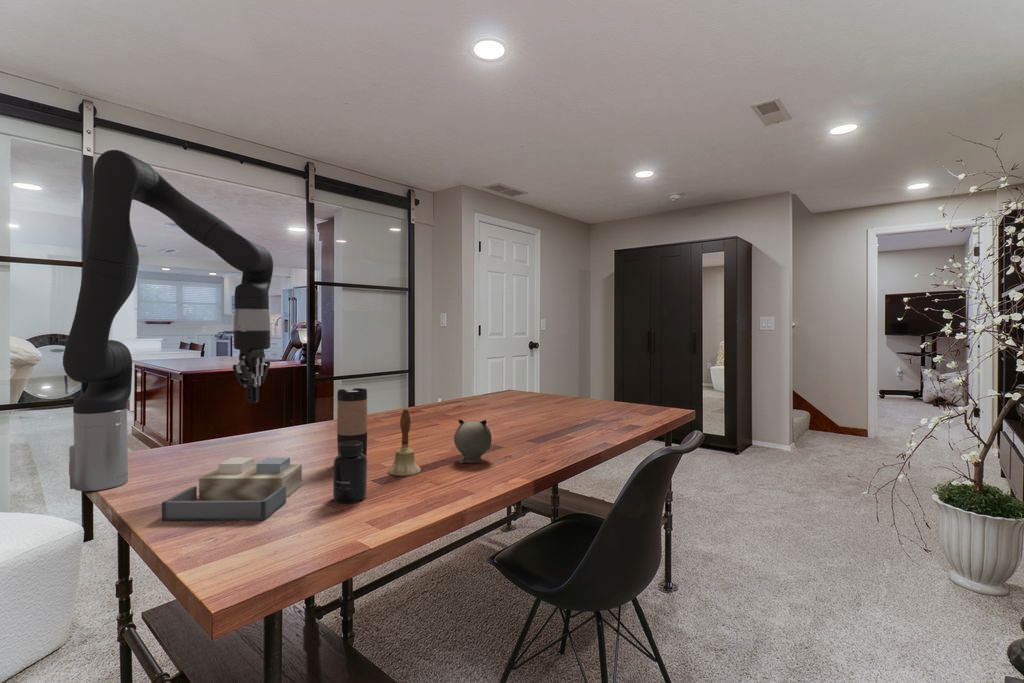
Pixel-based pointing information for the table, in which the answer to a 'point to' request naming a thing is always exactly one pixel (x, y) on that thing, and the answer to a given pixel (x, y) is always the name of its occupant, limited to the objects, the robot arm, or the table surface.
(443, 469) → the table surface
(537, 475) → the table surface
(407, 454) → the hand bell
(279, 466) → the slate tile
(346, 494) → the supplement bottle
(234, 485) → the bench
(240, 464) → the beige block
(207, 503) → the tray
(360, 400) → the travel mug
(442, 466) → the table surface
